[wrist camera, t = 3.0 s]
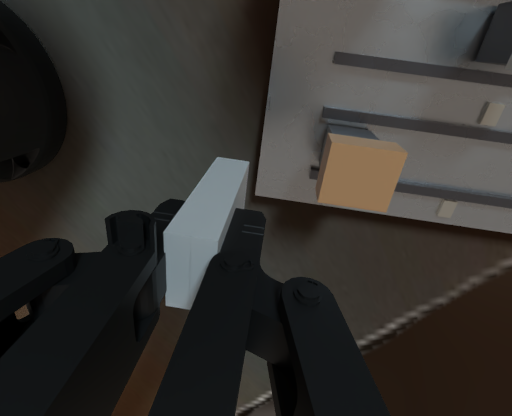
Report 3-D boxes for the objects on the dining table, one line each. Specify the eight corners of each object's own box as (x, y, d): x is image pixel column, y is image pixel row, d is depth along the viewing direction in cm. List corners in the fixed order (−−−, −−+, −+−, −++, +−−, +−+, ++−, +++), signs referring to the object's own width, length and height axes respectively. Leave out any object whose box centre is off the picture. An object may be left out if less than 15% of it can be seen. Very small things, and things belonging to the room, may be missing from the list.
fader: (311, 167, 23) (317, 202, 18) (321, 119, 21) (332, 142, 16) (364, 174, 23) (386, 212, 18) (378, 127, 21) (408, 153, 16)
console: (257, 185, 27) (254, 198, 24) (292, -88, 18) (293, -107, 16) (534, 226, 26) (558, 244, 24) (708, -39, 17) (772, -52, 15)
